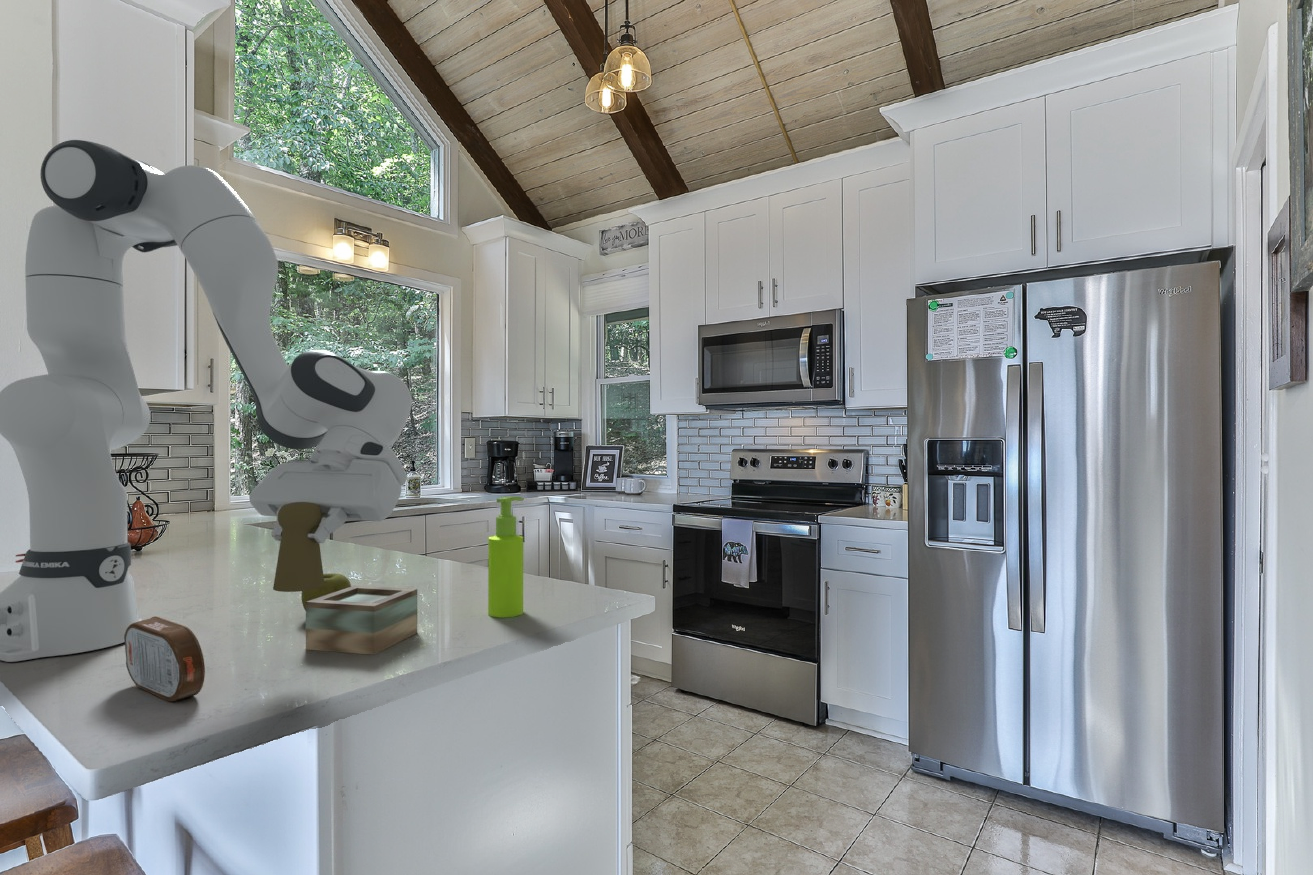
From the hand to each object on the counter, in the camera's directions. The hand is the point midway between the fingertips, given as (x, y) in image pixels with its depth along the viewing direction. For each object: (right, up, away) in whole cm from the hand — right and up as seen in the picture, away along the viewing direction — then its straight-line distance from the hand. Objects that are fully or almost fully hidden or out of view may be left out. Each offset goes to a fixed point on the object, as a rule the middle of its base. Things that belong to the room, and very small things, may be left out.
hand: (296, 539), depth 90 cm
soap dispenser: (+21, -17, +30) cm, 40 cm away
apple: (-9, -17, +26) cm, 33 cm away
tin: (-12, -17, -7) cm, 22 cm away
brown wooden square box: (+3, -17, +14) cm, 22 cm away
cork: (0, -6, +1) cm, 6 cm away
